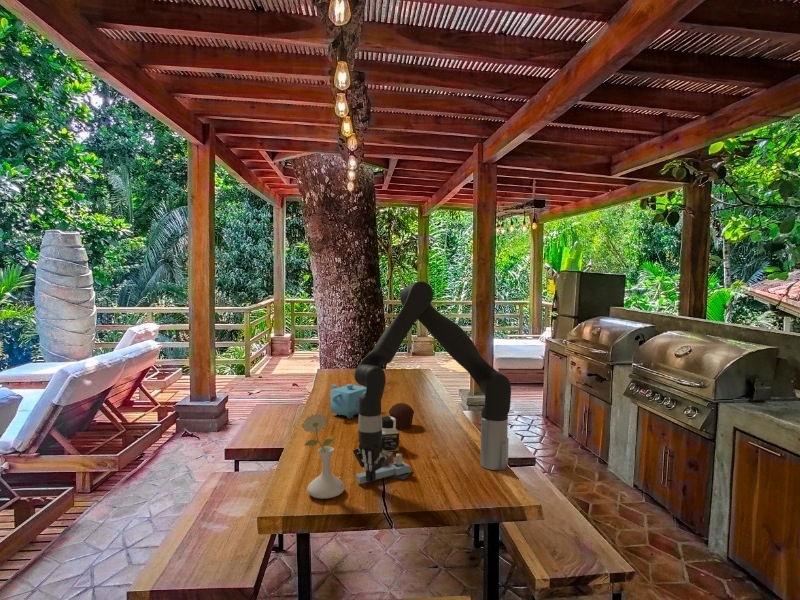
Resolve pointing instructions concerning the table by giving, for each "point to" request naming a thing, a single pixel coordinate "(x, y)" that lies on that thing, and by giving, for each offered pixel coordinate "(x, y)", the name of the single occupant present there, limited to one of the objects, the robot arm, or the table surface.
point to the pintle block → (399, 464)
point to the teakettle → (346, 399)
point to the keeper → (390, 458)
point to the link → (385, 472)
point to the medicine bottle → (389, 434)
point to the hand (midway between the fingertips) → (370, 481)
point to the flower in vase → (326, 481)
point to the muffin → (402, 415)
